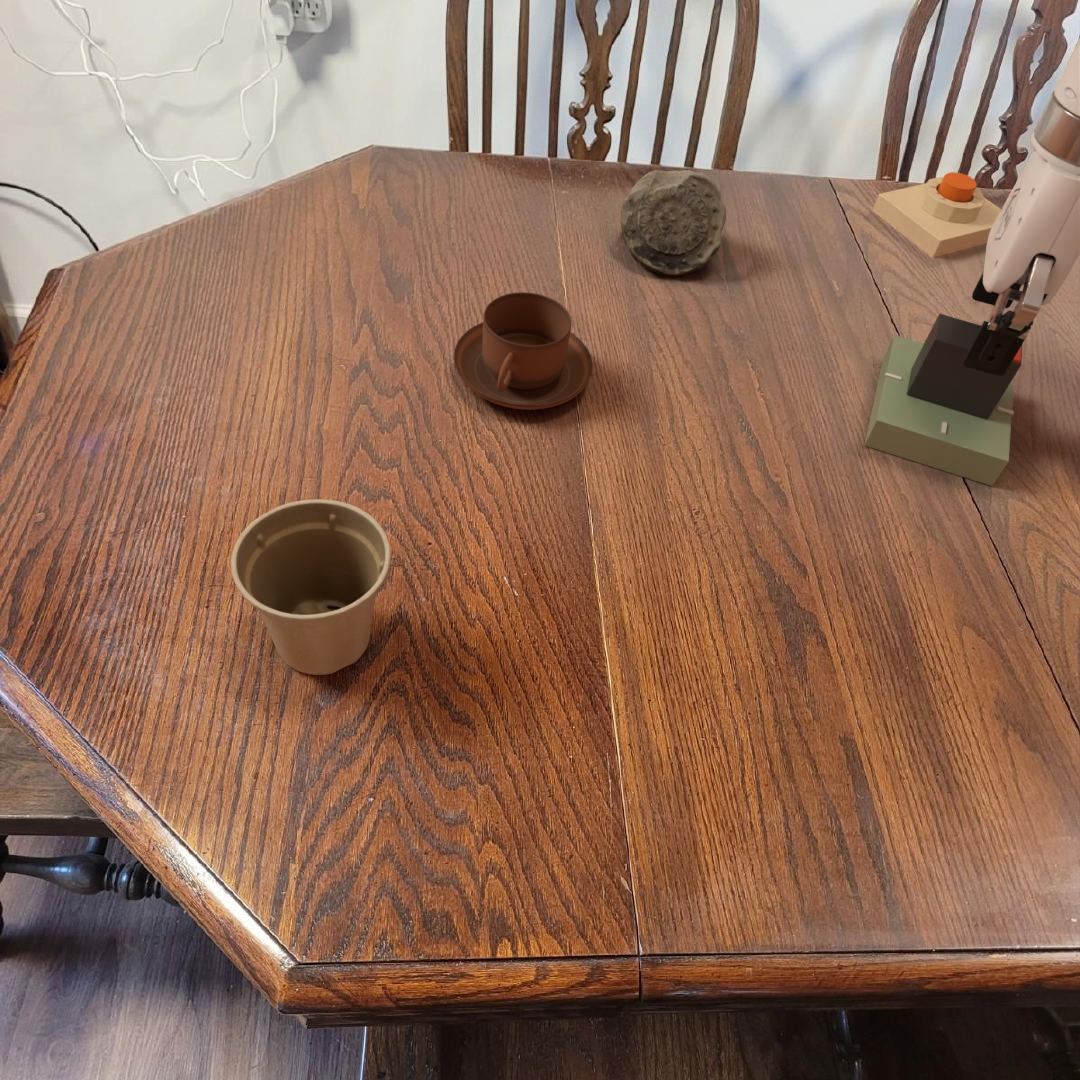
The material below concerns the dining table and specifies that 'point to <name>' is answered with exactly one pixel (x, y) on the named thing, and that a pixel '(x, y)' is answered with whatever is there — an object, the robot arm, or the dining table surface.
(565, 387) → the cup and saucer
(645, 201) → the fossil
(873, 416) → the stand
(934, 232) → the box
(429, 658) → the dining table surface
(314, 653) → the flower pot
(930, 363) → the black block
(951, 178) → the button
